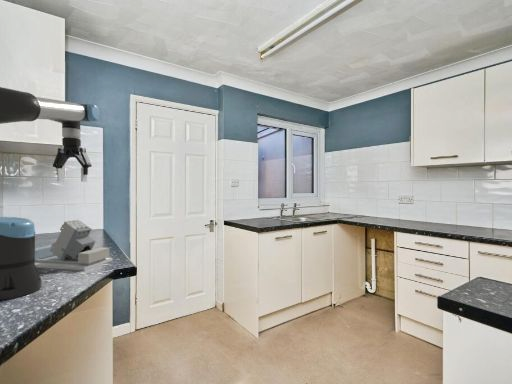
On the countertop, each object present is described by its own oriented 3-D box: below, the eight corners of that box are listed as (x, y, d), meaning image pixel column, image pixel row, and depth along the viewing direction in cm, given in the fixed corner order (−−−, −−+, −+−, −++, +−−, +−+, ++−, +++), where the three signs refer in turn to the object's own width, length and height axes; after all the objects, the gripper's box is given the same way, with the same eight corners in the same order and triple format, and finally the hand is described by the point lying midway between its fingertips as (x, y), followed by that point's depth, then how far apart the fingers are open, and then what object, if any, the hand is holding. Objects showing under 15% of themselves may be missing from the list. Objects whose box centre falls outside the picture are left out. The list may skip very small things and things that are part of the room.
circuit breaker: (73, 269, 118) (89, 239, 116) (49, 250, 120) (64, 221, 118) (87, 264, 125) (102, 236, 123) (64, 247, 127) (78, 219, 126)
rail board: (84, 270, 112) (84, 254, 112) (19, 266, 118) (19, 251, 118) (112, 260, 127) (112, 246, 127) (53, 257, 133) (53, 244, 133)
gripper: (99, 138, 137) (100, 181, 137) (57, 140, 142) (57, 181, 142) (87, 135, 129) (87, 181, 130) (43, 137, 134) (44, 181, 135)
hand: (72, 181), depth 136 cm, fingers open, 13 cm apart
